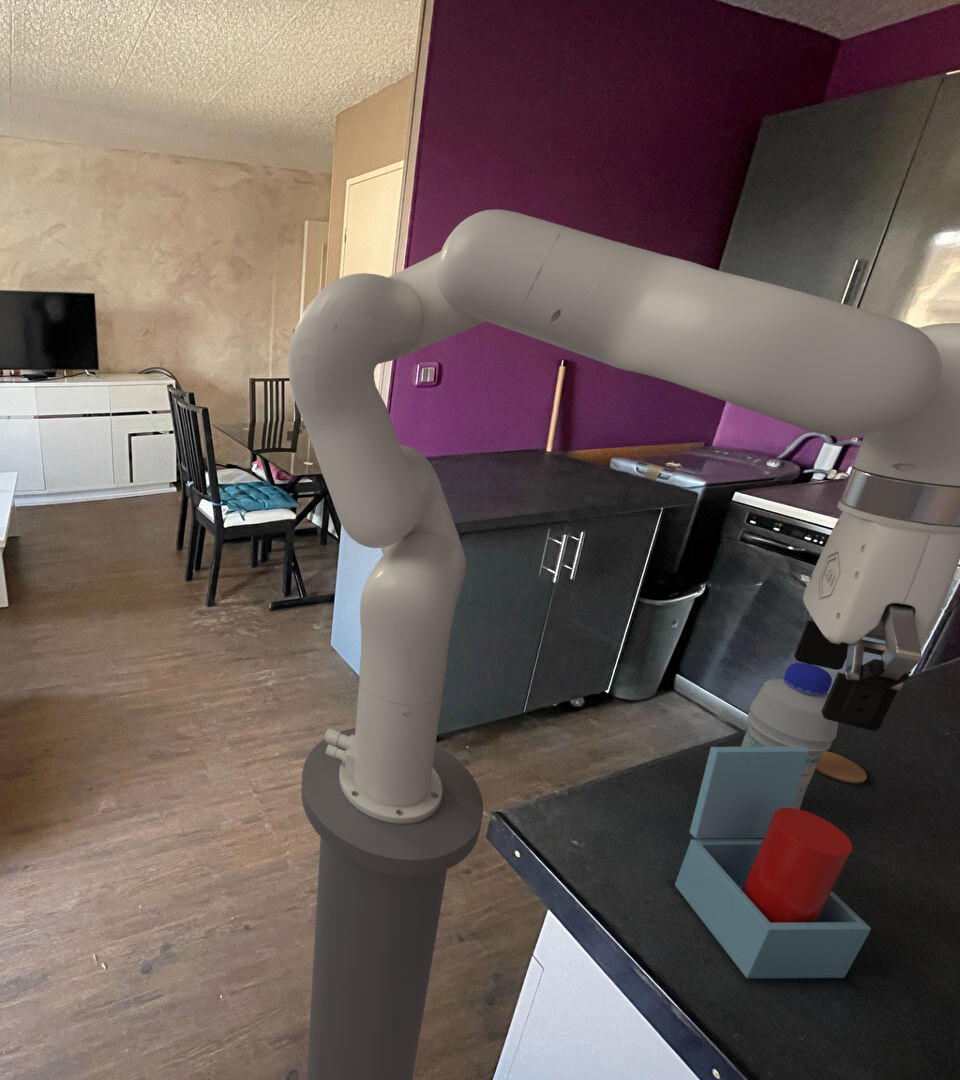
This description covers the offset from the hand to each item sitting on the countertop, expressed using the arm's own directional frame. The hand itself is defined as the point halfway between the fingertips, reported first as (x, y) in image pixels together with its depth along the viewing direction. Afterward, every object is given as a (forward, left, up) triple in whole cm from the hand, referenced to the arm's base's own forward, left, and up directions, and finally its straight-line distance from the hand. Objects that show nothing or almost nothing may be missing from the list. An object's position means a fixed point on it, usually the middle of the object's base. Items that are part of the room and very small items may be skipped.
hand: (831, 691), depth 49 cm
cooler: (0, -5, -23) cm, 24 cm away
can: (0, -6, -23) cm, 23 cm away
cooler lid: (-3, -1, -12) cm, 12 cm away
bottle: (+2, +11, -23) cm, 26 cm away
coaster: (+12, +27, -23) cm, 37 cm away
